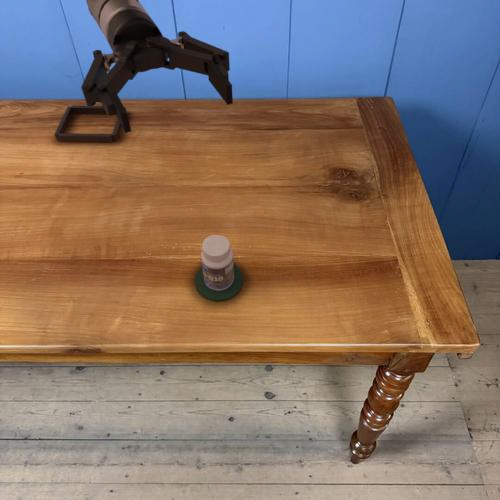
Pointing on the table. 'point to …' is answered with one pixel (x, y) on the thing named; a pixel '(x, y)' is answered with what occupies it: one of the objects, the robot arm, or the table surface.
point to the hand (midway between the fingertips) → (179, 108)
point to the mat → (221, 294)
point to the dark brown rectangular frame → (85, 137)
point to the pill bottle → (217, 262)
